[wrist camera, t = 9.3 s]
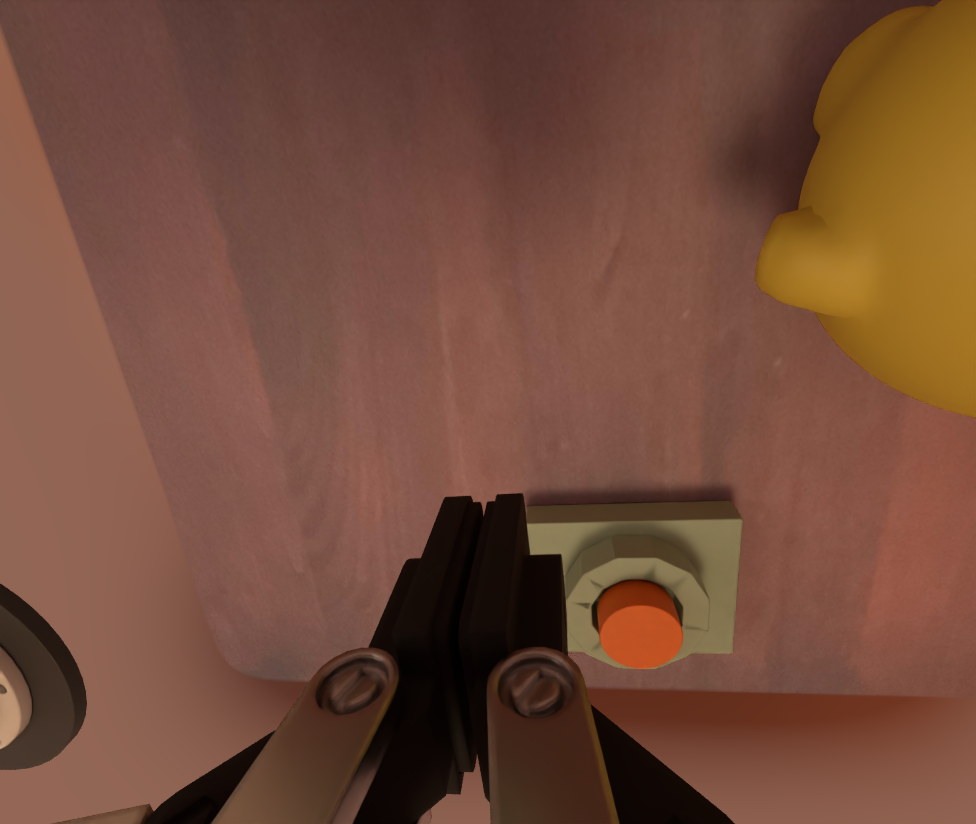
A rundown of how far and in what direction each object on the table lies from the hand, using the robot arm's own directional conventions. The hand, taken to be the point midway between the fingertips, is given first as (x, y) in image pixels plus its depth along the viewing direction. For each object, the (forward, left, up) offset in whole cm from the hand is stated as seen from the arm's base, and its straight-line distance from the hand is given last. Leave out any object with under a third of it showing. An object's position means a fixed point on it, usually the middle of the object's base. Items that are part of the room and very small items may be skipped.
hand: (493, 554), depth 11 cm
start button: (+4, -11, -11) cm, 17 cm away
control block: (+4, -11, -14) cm, 19 cm away
